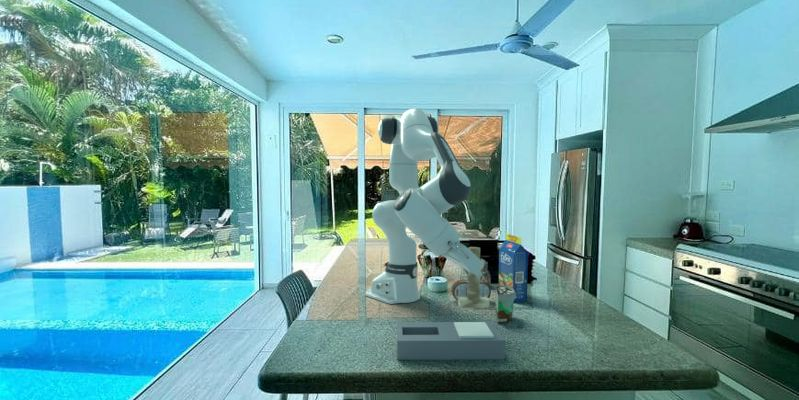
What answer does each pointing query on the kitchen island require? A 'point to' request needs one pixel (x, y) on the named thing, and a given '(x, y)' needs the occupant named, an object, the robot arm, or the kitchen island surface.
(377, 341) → the kitchen island surface
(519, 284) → the blue food package
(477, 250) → the T-key
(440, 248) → the robot arm
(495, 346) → the housing
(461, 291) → the tin
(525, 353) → the kitchen island surface
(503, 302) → the food container
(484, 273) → the figurine
